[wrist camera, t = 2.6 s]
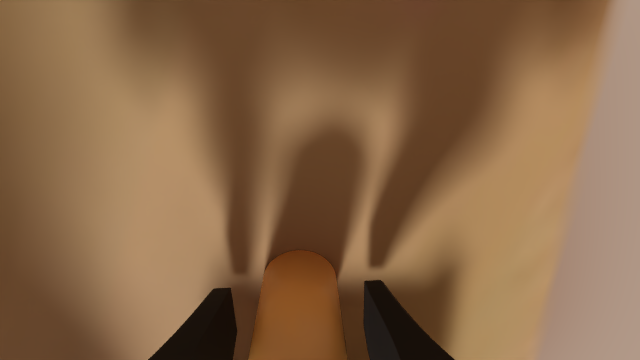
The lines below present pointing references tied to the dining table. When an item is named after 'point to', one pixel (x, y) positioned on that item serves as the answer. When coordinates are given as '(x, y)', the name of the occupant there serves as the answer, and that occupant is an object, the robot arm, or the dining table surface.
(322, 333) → the peg
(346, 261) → the dining table surface
